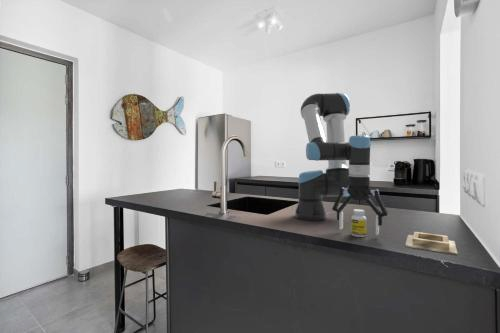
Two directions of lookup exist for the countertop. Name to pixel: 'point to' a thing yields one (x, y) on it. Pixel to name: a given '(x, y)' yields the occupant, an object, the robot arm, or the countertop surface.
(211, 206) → the countertop surface
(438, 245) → the beige square tray
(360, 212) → the supplement bottle
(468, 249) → the countertop surface
